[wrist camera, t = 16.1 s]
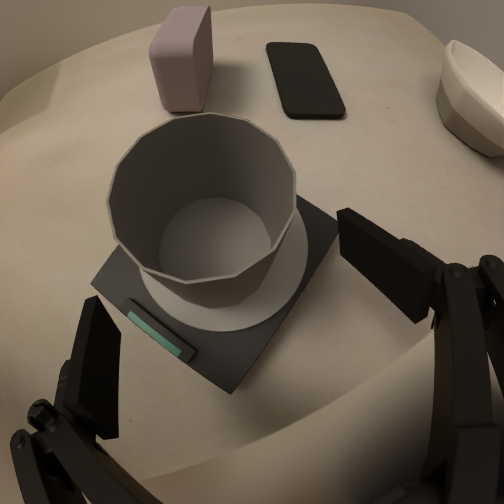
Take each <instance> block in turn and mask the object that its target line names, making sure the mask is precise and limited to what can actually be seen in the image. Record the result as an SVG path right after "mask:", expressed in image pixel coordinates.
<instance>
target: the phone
mask: <svg viewBox="0 0 504 504" xmlns="http://www.w3.org/2000/svg"><path fill="white" fill-rule="evenodd" d="M266 51H267V55H268V58H269V61H270V65H271V68H272V71H273V75H274V78H275V82H276V85H277V89H278V92H279V96H280V100H281V103H282V107H283V110H284V112H285V113H286V114H287V115H288V116H291V117H312V118H341V117H343V116H344V113H345V106H344V104H343V101H342V99H341V97H340V94H339V92H338V90H337V88H336V86H335V83H334V81H333V79H332V77H331V75H330V73H329V71H328V68H327V66H326V64H325V62H324V60H323V58H322V56H321V54H320V52H319V50H318V49H317V47H316V46H314V45H312V44H308V43H290V42H270V43H268V44H267V45H266Z"/></svg>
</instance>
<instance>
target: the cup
mask: <svg viewBox="0 0 504 504" xmlns="http://www.w3.org/2000/svg"><path fill="white" fill-rule="evenodd" d="M106 204H107V209H108V214H109V219H110V223H111V228H112V232H113V237H114V239H115V241H116V242H117V243H118V244H119V245H120V246H121V247H122V248H123V250H124V251H125V252H126V253H127V254H128V255H129V256H130V257H131V258H132V260H133V261H134V262H135V263H136V264H137V265H138V266H139V267H140V268H141V269H142V270H143V271H144V272H146V273H147V274H148V275H150V276H151V277H152V278H154V279H155V280H156V281H158V282H159V283H161V284H162V285H163V286H165V287H166V288H167V289H169V290H170V291H172V292H173V293H174V294H176V295H177V296H178V297H180V298H181V299H183V300H184V301H187V302H190V303H193V304H196V305H199V306H202V307H205V308H208V309H213V308H220V307H227V306H233V305H237V304H238V303H240V302H241V301H243V300H244V299H246V298H247V297H249V296H250V295H252V294H253V293H254V292H256V291H257V290H258V289H259V287H260V286H261V284H262V282H263V280H264V278H265V277H266V275H267V273H268V271H269V269H270V268H271V265H272V263H273V261H274V259H275V257H276V255H277V253H278V250H279V248H280V246H281V244H282V242H283V240H284V237H285V235H286V233H287V231H288V229H289V226H290V224H291V222H292V220H293V218H294V215H295V213H296V172H295V170H294V168H293V166H292V164H291V163H290V161H289V159H288V157H287V155H286V154H285V152H284V150H283V148H282V146H281V145H280V143H279V141H278V140H277V139H275V138H274V137H272V136H271V135H270V134H268V133H267V132H265V131H264V130H262V129H261V128H260V127H258V126H257V125H255V124H254V123H252V122H251V121H249V120H248V119H243V118H239V117H234V116H230V115H225V114H220V113H215V112H206V113H199V114H192V115H186V116H180V117H174V118H172V119H170V120H168V121H166V122H164V123H162V124H161V125H159V126H157V127H155V128H153V129H152V130H150V131H148V132H146V133H145V134H143V135H141V136H140V137H139V138H138V139H137V140H136V141H135V143H134V144H133V145H132V146H131V147H130V149H129V150H128V151H127V152H126V153H125V155H124V156H123V157H122V158H121V160H120V161H119V162H118V163H117V165H116V167H115V170H114V174H113V177H112V181H111V184H110V188H109V192H108V195H107V199H106Z"/></svg>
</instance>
